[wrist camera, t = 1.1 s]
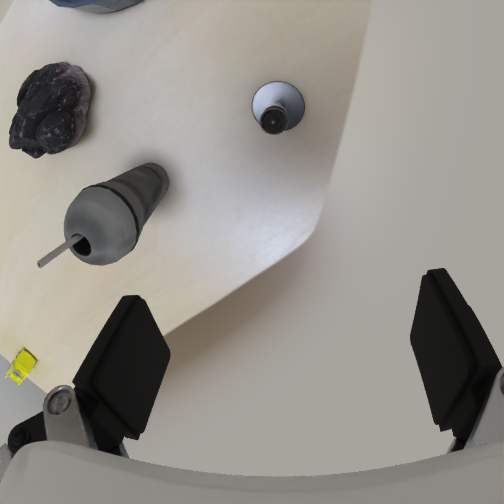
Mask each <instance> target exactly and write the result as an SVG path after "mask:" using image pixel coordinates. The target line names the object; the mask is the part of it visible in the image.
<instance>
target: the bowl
mask: <svg viewBox="0 0 504 504" xmlns="http://www.w3.org/2000/svg"><path fill="white" fill-rule="evenodd" d="M50 1H51V2H52V3H54V4H55V5H57V6H59V7H65V8H71V9H76V10H81V11H87V12H93V13H106V12H113V11H118V10H121V9H123V8H125V7H128V6H130V5H133V4H135V3H137V2H139V1H140V0H50Z"/></svg>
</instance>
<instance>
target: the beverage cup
mask: <svg viewBox="0 0 504 504" xmlns="http://www.w3.org/2000/svg"><path fill="white" fill-rule="evenodd" d="M168 186H169V178H168V175H167V173H166V171H165V170H164V169H163V168H162V167H161V166H159V165H158V164H154V163H146V164H144V165H141V166H138V167H136V168H134V169H131V170H129V171H127V172H125V173H123V174H121V175H119V176H117V177H115V178H113V179H111V180H109V181H107V182H102V183H98V184H96V185H91V186H88V187H86V188H84V189H83V190H82V191H81V192H80V193H79V194H78V195H77V197H76V198H75V199H74V201H73V202H72V203H71V204H70V206H69V208H68V210H67V213H66V216H65V220H64V236H65V239H66V242H65V243H63V244H62V245H60V246H59V247H57V248H56V249H55V250H53V251H52V252H50V253H49V254H47V255H46V256H45V257H43V258H42V259H41V260H39V261H38V262H37V265H38V267H39V268H42V267H43V266H44V265H46V264H47V263H48V262H50V261H51V260H52V259H54V258H55V257H57V256H58V255H59V254H61V253H62V252H64V251H65V250H66V249H68V248H70V250H71V251H72V253H73V254H74V255H75V256H76V257H77V258H79V259H80V260H81V261H83V262H86V263H88V264H91V265H100V266H102V265H107V264H111V263H114V262H117V261H118V260H120V259H121V258H122V257H124V256H125V255H127V254H128V253H129V252H131V251H132V250H133V249H134V247H135V245H136V244H137V242H138V238H139V236H140V234H141V231H142V229H143V226H144V225H145V223H146V221H147V220H148V218H149V217H150V215H151V214H152V212H153V211H154V209H155V208H156V207H157V205H158V204H159V202H160V201H161V199H162V198H163V196H164V194H165V192H166V191H167V189H168Z"/></svg>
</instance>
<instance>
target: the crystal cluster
mask: <svg viewBox="0 0 504 504" xmlns="http://www.w3.org/2000/svg"><path fill="white" fill-rule="evenodd" d="M90 98H91V93H90V86H89V83H88V80H87V77H86V75H85V74H84V72H82V71H81V69H80V68H79V67H77V66H70V65H68V64H67V63H65V62H60V63H55V64H48V65H46V66H44V67H43V68H42V69H40V70H35V71H34V72H32V74H30V75H29V76H28V78H27V79H26V80H25V81H24V83H23V84H22V86H21V88H20V90H19V93H18V96H17V106H18V110H17V113H16V114H15V116H14V118H13V120H12V125H11V127H10V130H9V134H10V138H9V146H10V147H11V148H12V149H21V148H22V151H23V152H25V153H27V154H29V155H30V156H32V157H33V158H39V157H41V156H42V155H44V154H45V153H46V152H47V153H49V154H56V153H58V152H61V151H64V150H65V149H67V148H70V147H72V146H74V145H76V144H77V142H78V140H79V139H80V137H81V136H82V134H83V132H84V130H85V128H86V114H87V110H88V107H89V101H90Z"/></svg>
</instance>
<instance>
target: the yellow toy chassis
mask: <svg viewBox="0 0 504 504" xmlns="http://www.w3.org/2000/svg"><path fill="white" fill-rule="evenodd" d="M23 350H24V349H23ZM23 350H22V351H21V353H20V352H19V353H18V355H17V356H16V358H17V359H16V360H14V361H13V362H12V364H11V365H10V367H9V369H8V370H9V371H8V373H7V374H6V376H5V377H7V378H8V377H9V376H10V377H11V378H12V379H13V380H14V381H15V382H18V383H19V384H18V385H20V383H21V382H22V381H24V379H25V378H26V376H27V375H28V374H29V372H30V370H32V369H33V366H34V364H35V362H36V361H35V360H34V358H33V357H32V356H31V355H30V354H29V353H28V352H27V351H23Z"/></svg>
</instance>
